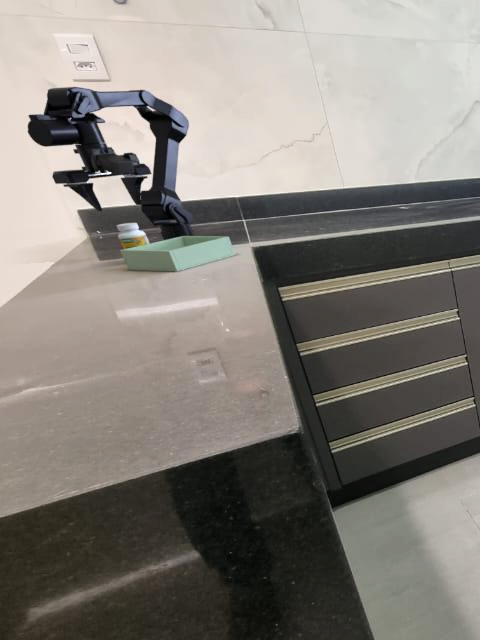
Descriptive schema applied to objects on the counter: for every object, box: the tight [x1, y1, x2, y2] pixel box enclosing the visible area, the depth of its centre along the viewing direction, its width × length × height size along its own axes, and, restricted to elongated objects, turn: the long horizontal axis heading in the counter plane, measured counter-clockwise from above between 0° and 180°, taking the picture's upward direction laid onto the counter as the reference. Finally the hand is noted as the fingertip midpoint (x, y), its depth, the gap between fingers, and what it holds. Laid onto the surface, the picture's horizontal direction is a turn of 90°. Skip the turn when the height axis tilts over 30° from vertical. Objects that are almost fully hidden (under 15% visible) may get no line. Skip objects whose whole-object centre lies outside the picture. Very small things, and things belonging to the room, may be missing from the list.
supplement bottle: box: [116, 222, 151, 250], centre depth 137 cm, size 5×5×10 cm
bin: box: [119, 235, 236, 272], centre depth 135 cm, size 16×16×5 cm
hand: (119, 208), depth 138 cm, fingers open, 9 cm apart
